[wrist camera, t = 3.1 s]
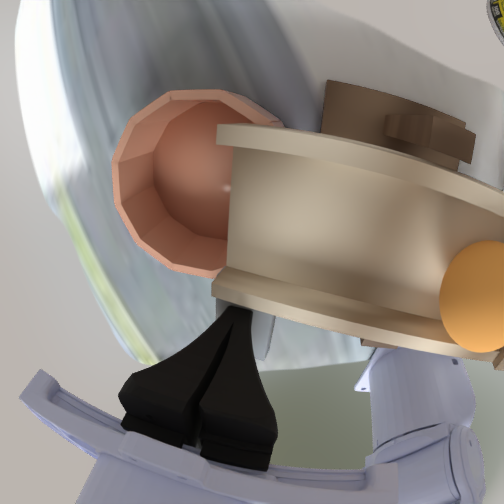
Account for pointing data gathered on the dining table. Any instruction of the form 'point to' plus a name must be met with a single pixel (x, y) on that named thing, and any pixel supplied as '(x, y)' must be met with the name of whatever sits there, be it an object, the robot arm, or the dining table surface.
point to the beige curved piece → (347, 237)
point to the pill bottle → (496, 17)
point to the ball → (475, 297)
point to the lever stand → (395, 130)
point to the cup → (181, 176)
